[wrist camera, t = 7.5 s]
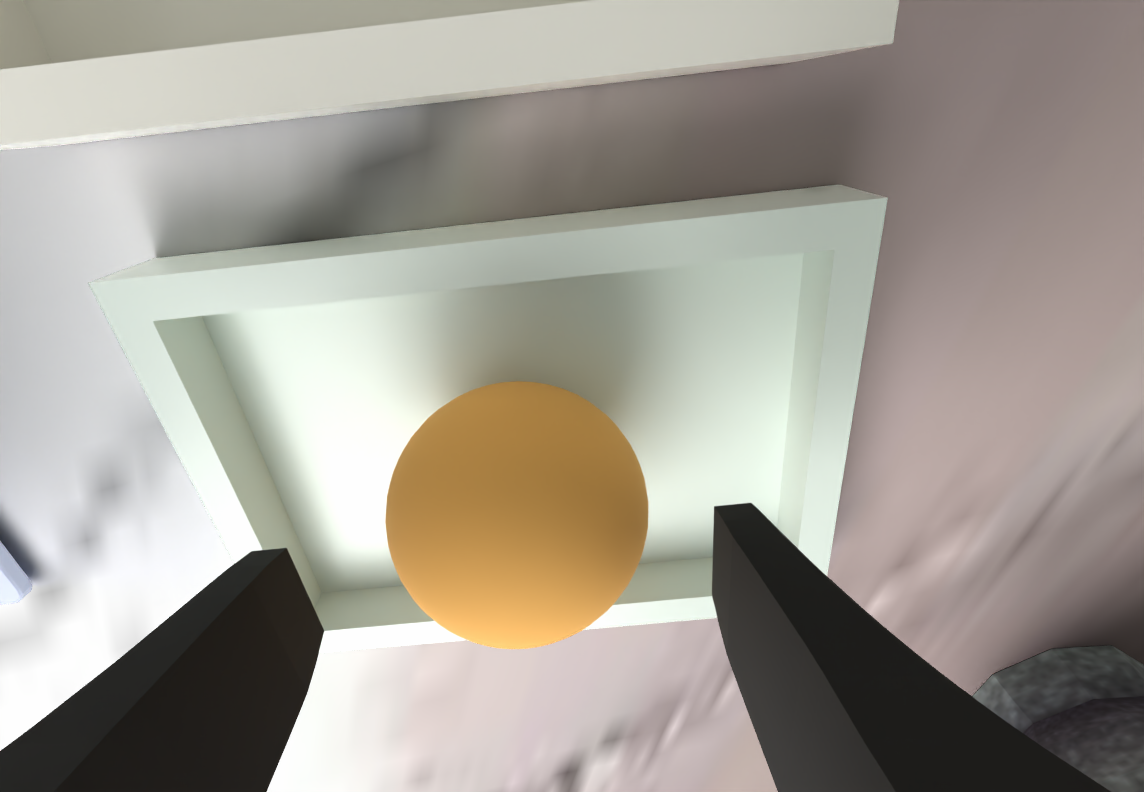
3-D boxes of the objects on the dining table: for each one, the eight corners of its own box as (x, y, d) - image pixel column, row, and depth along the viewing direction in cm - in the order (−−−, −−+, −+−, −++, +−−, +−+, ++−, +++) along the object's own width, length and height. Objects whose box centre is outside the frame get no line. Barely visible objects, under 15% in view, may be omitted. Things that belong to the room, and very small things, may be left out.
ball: (443, 534, 14) (399, 727, 10) (389, 358, 12) (300, 506, 7) (635, 509, 14) (679, 692, 10) (619, 326, 12) (666, 457, 7)
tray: (309, 601, 16) (282, 656, 14) (153, 258, 11) (87, 282, 10) (794, 557, 16) (821, 608, 14) (839, 184, 11) (887, 197, 9)
